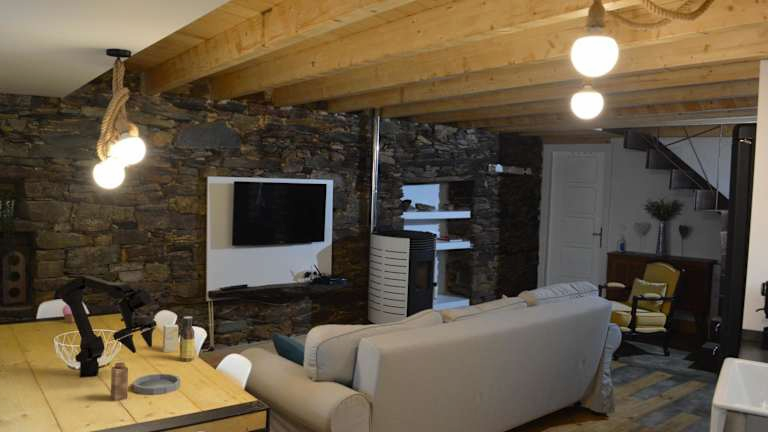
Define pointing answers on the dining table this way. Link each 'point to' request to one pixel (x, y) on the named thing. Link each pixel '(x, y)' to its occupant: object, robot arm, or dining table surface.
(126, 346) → the robot arm
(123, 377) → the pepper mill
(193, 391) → the dining table surface
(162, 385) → the slate dish
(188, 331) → the sauce bottle
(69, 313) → the cupcake
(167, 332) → the skincare box
